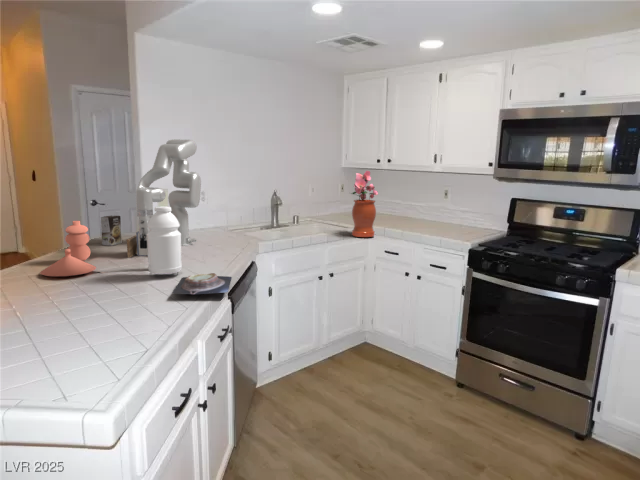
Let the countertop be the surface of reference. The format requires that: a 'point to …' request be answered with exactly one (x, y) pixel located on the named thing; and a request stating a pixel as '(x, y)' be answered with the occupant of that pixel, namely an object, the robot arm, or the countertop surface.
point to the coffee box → (111, 230)
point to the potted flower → (363, 207)
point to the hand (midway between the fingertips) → (146, 246)
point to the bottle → (164, 242)
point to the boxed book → (139, 251)
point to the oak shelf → (131, 246)
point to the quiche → (203, 284)
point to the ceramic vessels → (73, 254)
